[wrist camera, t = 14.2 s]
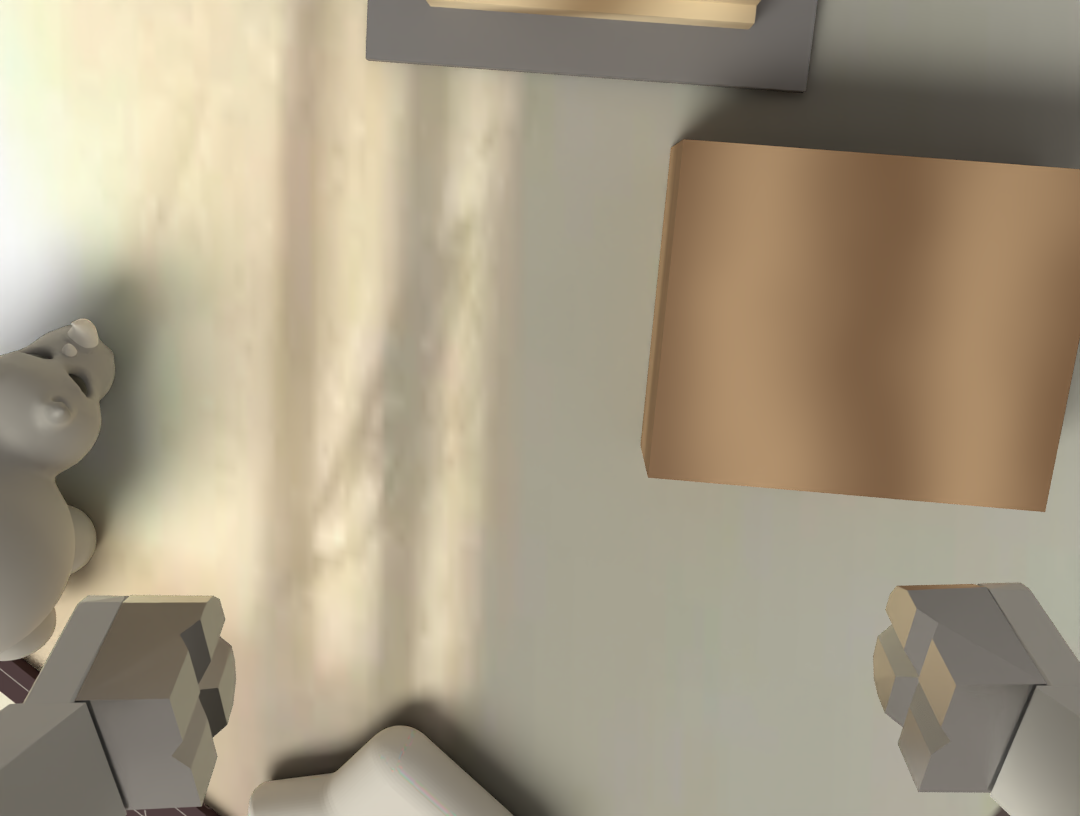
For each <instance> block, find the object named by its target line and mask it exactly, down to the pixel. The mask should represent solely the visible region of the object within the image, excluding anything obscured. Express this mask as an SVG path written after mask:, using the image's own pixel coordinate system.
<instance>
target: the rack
mask: <svg viewBox="0 0 1080 816" xmlns="http://www.w3.org/2000/svg"><path fill="white" fill-rule="evenodd" d="M426 1H427V2H428V4H429V5H430V6H431V7H445V8H458V9H472V10H486V11H500V12H514V13H528V14H541V15H555V16H569V17H583V18H597V19H611V20H624V21H638V22H652V23H666V24H680V25H694V26H707V27H721V28H735V29H750V28H751V27H752V26H753V24H754V23H755V15H756V6H757V5H758V3H759V2H760V1H761V0H426Z"/></svg>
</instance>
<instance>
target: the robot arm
mask: <svg viewBox="0 0 1080 816" xmlns="http://www.w3.org/2000/svg"><path fill="white" fill-rule="evenodd" d="M885 610H886V612H887V614H888V616H889V619H890V621H891V623H892V625H890V626H889V627H888V628H887V629H886V630H885V631H883V632H882V633H881V634H880V635H879V636H878V638H877V642H876V646H875V651H874V655H873V666H874V681H875V685H876V690H877V694H878V697H879V699H880V702H881V705H882V707H883V710H884V712H885V713H886V714H887V715H888V716H889V717H891V718H892V719H893V720H894V721H896V722H897V723H898V724H899V725H901V726H902V727H903V729H902V732H901V735H900V738H899V742H898V746H899V748H900V750H901V753H902V755H903V757H904V760H905V762H906V764H907V767H908V769H909V771H910V774H911V776H912V778H913V781H914V783H915V785H916V788H917V790H918V792H989V793H991V794H990V797H991V798H992V799H994V800H995V801H996V802H997V803H998V804H999V805H1000V806H1001V807H1002V808H1003V809H1004V810H1005V811H1006V812H1007V813H1008V814H1010V815H1011V816H1080V662H1079V661H1078V659H1077V658H1076V656H1075V655H1074V653H1073V652H1072V650H1071V649H1070V647H1069V646H1068V644H1067V643H1066V641H1065V640H1064V639H1063V637H1062V636H1061V634H1060V633H1059V631H1058V630H1057V628H1056V627H1055V625H1054V624H1053V622H1052V621H1051V619H1050V618H1049V617H1048V615H1047V614H1046V612H1045V611H1044V609H1043V608H1042V606H1041V605H1040V603H1039V602H1038V600H1037V599H1036V598H1035V596H1034V595H1033V593H1032V592H1031V590H1030V589H1029V588H1028V587H1026V586H1025V585H1023V584H1022V583H985V584H978V585H975V584H956V585H913V586H896V587H895V588H894V590H893V591H892V592H891V593H890V596H889V599H888V602H887V606H886V609H885ZM224 622H225V616H224V613H223V609H222V606H221V602H220V599H218V598H216V597H214V596H180V595H130V596H95V595H88V596H87V597H86V598H84V599H83V600H82V601H80V602H79V603H78V604H77V606H76V607H75V609H74V611H73V613H72V615H71V616H70V618H69V620H68V622H67V624H66V626H65V627H64V629H63V631H62V633H61V635H60V637H59V638H58V640H57V642H56V644H55V646H54V647H53V649H52V651H51V653H50V655H49V657H48V658H47V660H46V662H45V664H44V666H43V668H42V669H41V671H40V673H39V675H38V677H37V678H36V680H35V682H34V684H33V686H32V688H31V689H30V691H29V693H28V695H27V697H26V698H25V700H24V702H23V703H21V704H9V705H7V706H6V707H5V708H3V709H2V710H0V816H126V815H127V813H126V810H139V809H160V808H181V807H202V804H203V801H204V798H205V795H206V791H207V788H208V785H209V782H210V779H211V776H212V772H213V769H214V766H215V763H216V760H217V753H216V749H215V746H214V742H213V737H214V736H215V735H216V734H217V733H218V732H220V731H221V730H222V729H223V728H224V727H225V726H226V725H227V724H228V720H229V717H230V713H231V710H232V706H233V701H234V693H235V684H236V671H235V659H234V655H233V650H232V646H231V645H230V644H229V643H227V642H226V641H225V640H224V639H222V638H221V637H220V633H221V630H222V627H223V624H224Z"/></svg>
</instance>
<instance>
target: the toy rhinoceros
mask: <svg viewBox="0 0 1080 816" xmlns="http://www.w3.org/2000/svg"><path fill="white" fill-rule="evenodd" d="M114 377H115V365H114V354H113V352H112V351H111V349H110V348H109V347H108V346H106V345H104V344H103V343H102V341H101V340H100V339H99V338H98V333H97V330H96V328H95V326H94V324H93V323H92V322H91V321H89V320H88V319H84V318H83V319H78V320H75V321H73V322H71V325H67V326H64V327H61V328H59V329H56V330H54V331H51V332H48V333H47V334H45V335H43V336H42V337H40V338H39V339H37V340H36V341H35V342H33V343H32V344H30V345H29V346H27V347H25V348H23V349H21V350H18V351H14V352H10V353H8V354H4V355H0V661H10V660H16V659H20V658H23V657H26V656H28V655H30V654H32V653H34V652H36V651H37V650H39V649H40V648H41V647H42V646H43V645H45V643H46V642H47V641H48V640H49V639H50V637H51V636H52V634H53V632H54V630H55V626H56V612H55V608H54V606H55V605H56V603H57V602H58V600H59V599H60V597H61V595H62V593H63V591H64V589H65V587H66V585H67V582H68V580H69V577H70V574H73V573H75V572H76V571H78V570H79V569H81V568H82V567H83V566H85V565H86V564H87V562H88V561H89V560H90V559H91V557H92V555H93V553H94V551H95V548H96V531H95V528H94V525H93V523H92V521H91V520H90V518H89V517H88V516H87V515H86V514H85V513H84V512H83V511H81V510H80V509H78V508H76V507H73V506H69V505H67V504H66V502H65V500H64V498H63V496H62V494H61V493H60V491H59V489H58V487H57V485H56V483H55V477H56V476H57V475H58V474H59V473H61V472H63V471H65V470H67V469H69V468H70V467H72V466H74V465H75V464H77V463H78V462H79V461H80V460H81V459H83V458H84V457H85V456H86V454H87V453H88V452H89V451H90V450H91V448H92V447H93V445H94V444H95V442H96V440H97V438H98V435H99V432H100V429H101V422H102V419H101V411H100V404H99V401H100V400H101V399H102V398H103V397H104V396H105V395H106V394H107V392H108V391H109V390H110V388H111V386H112V383H113V381H114Z"/></svg>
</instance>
